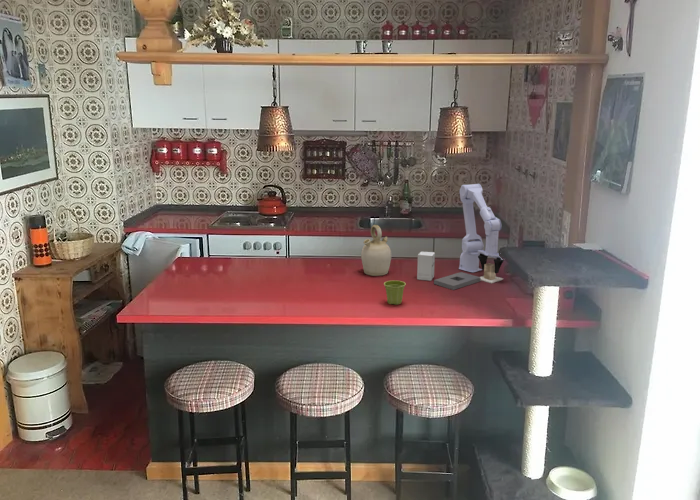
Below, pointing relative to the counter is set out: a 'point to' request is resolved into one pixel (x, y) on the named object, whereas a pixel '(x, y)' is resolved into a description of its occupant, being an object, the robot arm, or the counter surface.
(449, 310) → the counter surface
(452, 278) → the grey flat block
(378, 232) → the jug
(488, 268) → the plug
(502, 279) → the mat
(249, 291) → the counter surface
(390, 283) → the plant pot
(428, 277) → the supplement box
